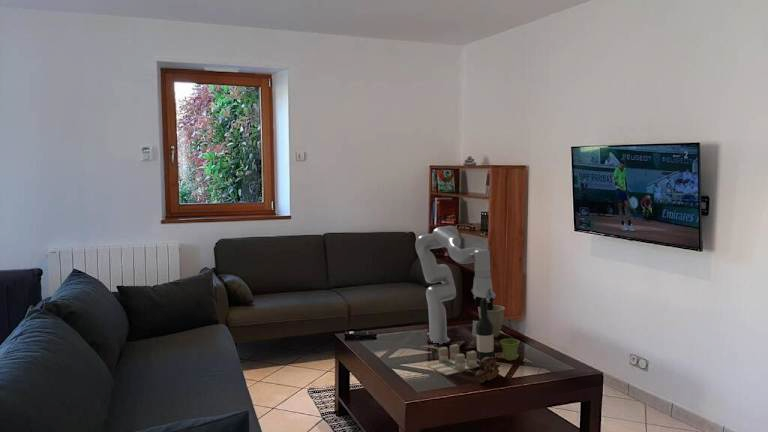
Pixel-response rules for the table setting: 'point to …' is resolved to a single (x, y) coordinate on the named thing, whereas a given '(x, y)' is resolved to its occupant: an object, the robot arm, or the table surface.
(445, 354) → the rest
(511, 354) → the plant pot
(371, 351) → the table surface
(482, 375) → the wooden carving
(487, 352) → the wine bottle
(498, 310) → the plant pot
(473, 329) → the smart speaker
